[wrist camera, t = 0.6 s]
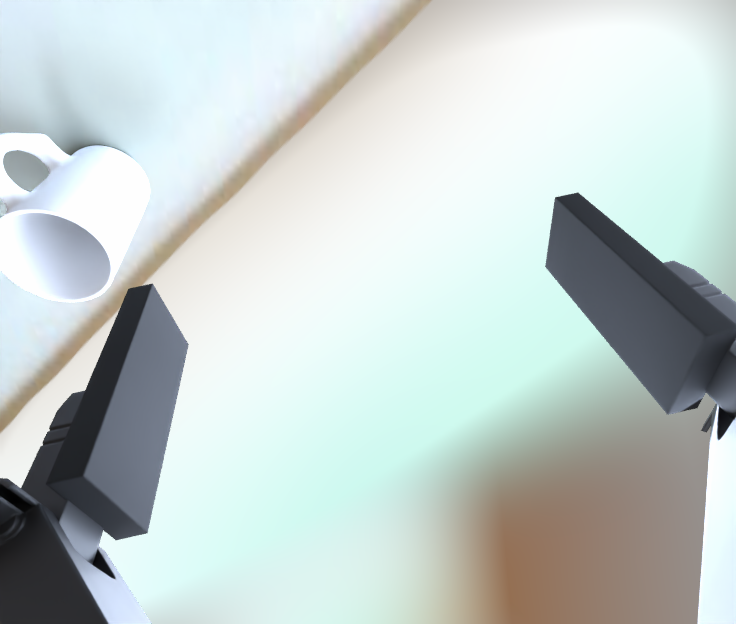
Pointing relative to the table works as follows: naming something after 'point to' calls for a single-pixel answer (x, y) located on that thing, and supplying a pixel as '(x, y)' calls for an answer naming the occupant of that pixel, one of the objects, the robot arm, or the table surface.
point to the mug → (69, 218)
